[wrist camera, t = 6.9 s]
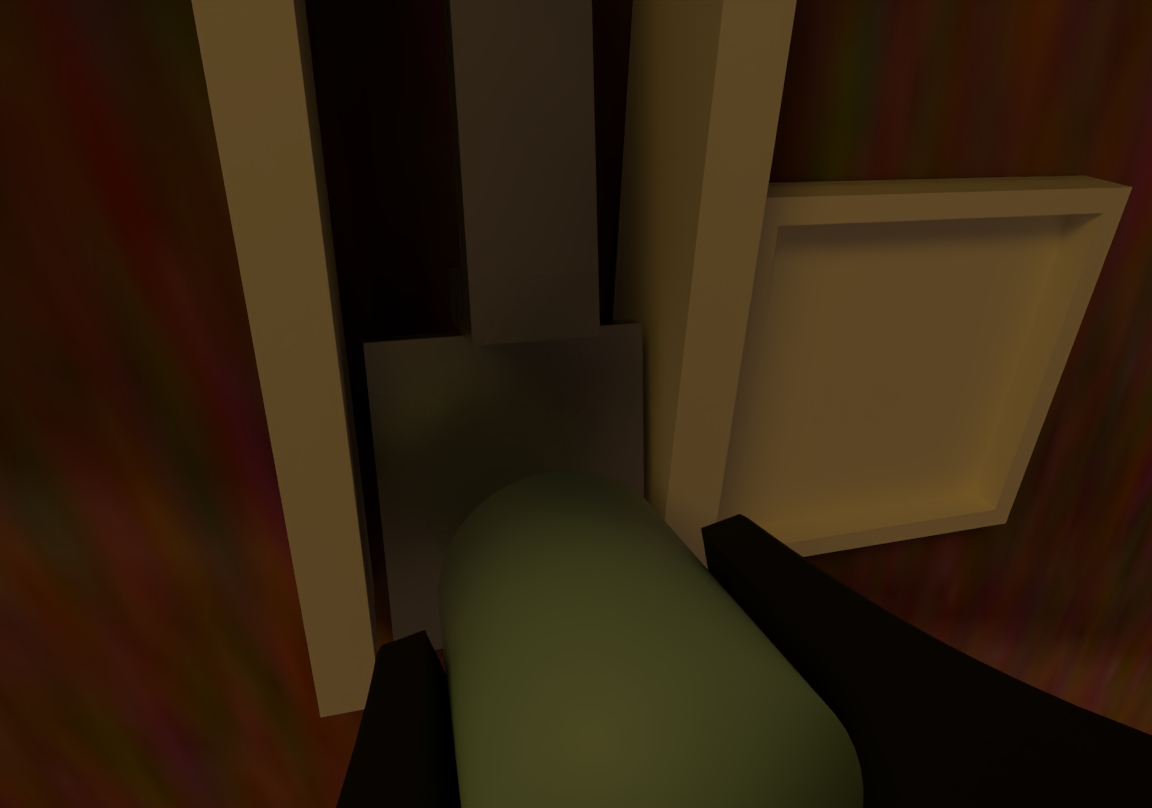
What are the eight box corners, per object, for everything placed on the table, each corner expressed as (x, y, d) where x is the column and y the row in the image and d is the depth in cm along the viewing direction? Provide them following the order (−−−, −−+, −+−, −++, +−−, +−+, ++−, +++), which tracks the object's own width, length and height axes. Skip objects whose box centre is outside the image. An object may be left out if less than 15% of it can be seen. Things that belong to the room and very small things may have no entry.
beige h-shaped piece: (719, -309, 13) (860, -421, 9) (639, 539, 21) (697, 645, 18) (167, -397, 10) (86, -584, 7) (323, 587, 19) (320, 717, 15)
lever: (836, -468, 13) (1033, -754, 9) (793, 572, 18) (910, 668, 14) (266, -599, 10) (215, -1053, 7) (394, 641, 15) (405, 777, 11)
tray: (1083, 175, 19) (1132, 187, 18) (972, 497, 24) (1005, 523, 23) (727, 183, 17) (757, 198, 16) (681, 541, 21) (701, 573, 20)
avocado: (674, 458, 12) (878, 635, 7) (673, 671, 13) (850, 962, 8) (428, 483, 12) (456, 705, 6) (446, 709, 13) (483, 1060, 7)
